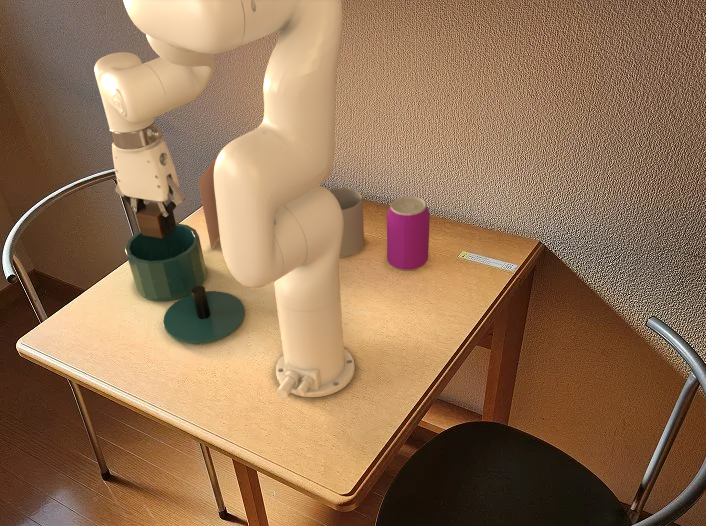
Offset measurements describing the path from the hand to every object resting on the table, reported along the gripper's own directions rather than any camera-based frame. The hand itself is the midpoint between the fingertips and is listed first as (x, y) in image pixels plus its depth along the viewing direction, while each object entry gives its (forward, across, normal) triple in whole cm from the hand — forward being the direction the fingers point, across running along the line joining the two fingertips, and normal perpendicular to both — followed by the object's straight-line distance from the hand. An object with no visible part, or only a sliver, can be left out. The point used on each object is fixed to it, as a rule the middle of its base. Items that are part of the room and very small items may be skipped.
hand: (158, 229), depth 134 cm
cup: (+11, -27, -21) cm, 36 cm away
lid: (+11, -13, +9) cm, 19 cm away
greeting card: (+12, -4, -18) cm, 22 cm away
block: (0, 0, 0) cm, 0 cm away
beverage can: (+11, -41, -19) cm, 47 cm away
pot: (+11, 0, 0) cm, 11 cm away
